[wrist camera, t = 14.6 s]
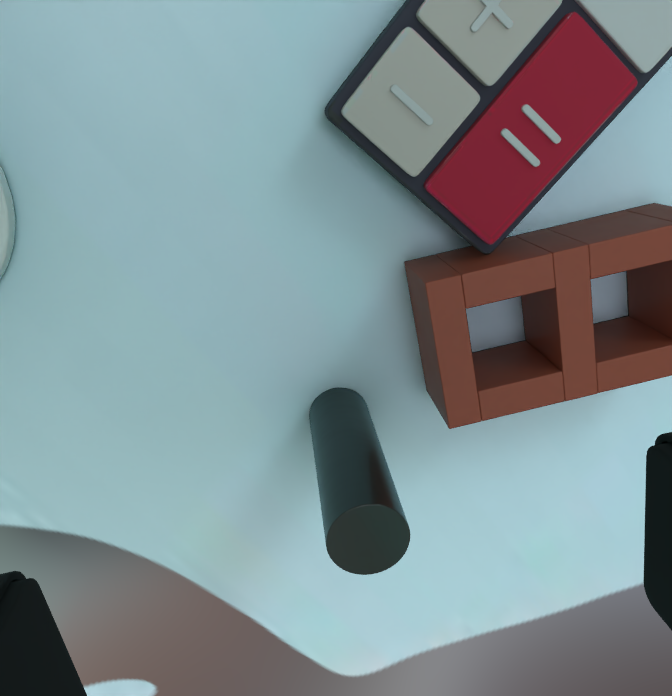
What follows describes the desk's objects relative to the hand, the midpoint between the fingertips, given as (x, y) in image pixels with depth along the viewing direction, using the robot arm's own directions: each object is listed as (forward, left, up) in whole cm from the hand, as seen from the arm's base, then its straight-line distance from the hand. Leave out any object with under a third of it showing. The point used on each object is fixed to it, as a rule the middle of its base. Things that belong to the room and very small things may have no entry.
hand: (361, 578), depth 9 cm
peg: (0, -10, -26) cm, 28 cm away
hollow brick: (+13, -6, -26) cm, 29 cm away
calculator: (+12, +7, -26) cm, 29 cm away
